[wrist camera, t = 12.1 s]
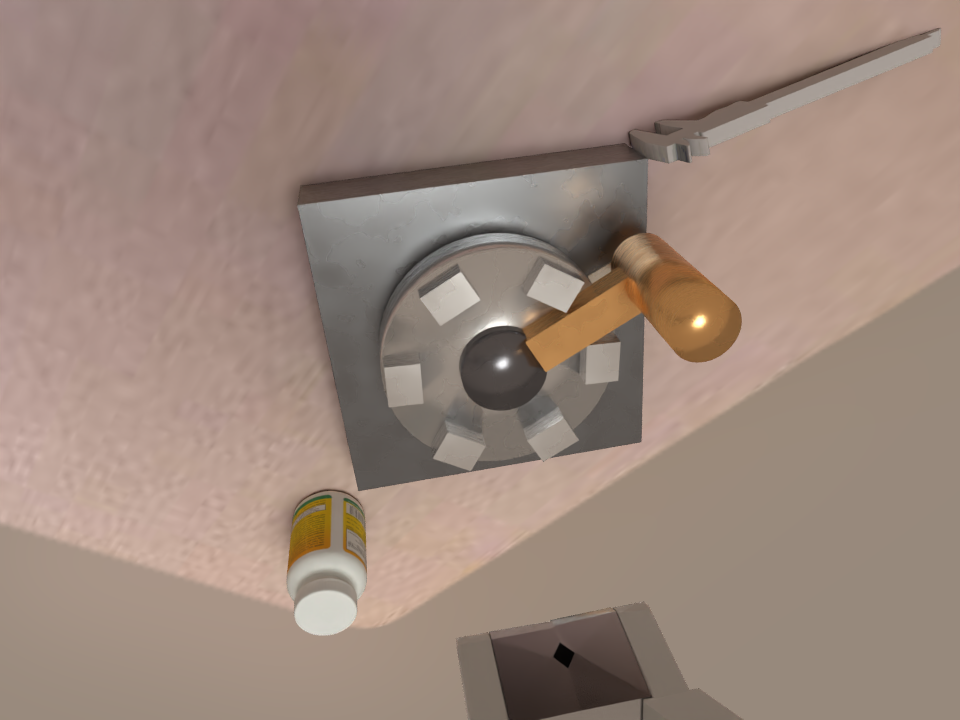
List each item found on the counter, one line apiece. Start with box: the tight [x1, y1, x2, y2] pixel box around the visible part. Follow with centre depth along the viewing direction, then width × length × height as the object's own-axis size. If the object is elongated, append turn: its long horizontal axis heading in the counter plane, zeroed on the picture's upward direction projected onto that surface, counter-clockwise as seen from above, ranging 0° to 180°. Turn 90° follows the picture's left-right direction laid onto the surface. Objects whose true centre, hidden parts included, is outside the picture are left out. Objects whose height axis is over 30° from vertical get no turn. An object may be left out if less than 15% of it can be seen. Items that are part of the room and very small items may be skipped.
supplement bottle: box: [287, 491, 367, 635], centre depth 52 cm, size 5×5×10 cm
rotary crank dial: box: [379, 233, 742, 471], centre depth 41 cm, size 19×14×11 cm
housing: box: [297, 144, 648, 491], centre depth 48 cm, size 20×20×4 cm
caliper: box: [629, 28, 941, 163], centre depth 44 cm, size 20×1×6 cm, turn 106°
